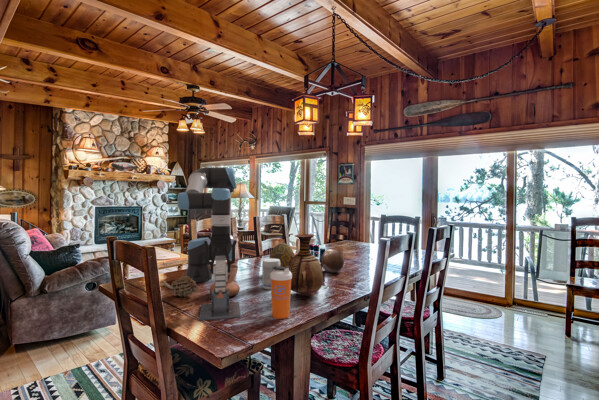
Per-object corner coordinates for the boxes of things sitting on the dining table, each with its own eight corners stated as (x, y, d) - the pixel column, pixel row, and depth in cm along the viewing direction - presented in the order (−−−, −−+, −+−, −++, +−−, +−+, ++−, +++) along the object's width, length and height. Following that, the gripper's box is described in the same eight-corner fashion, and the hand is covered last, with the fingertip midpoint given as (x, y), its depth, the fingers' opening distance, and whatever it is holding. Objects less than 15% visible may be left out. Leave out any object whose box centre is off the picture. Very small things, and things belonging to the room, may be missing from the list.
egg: (263, 275, 200) (263, 242, 199) (284, 271, 210) (284, 240, 210) (280, 280, 187) (280, 245, 187) (301, 276, 198) (301, 243, 198)
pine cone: (202, 295, 159) (202, 275, 159) (188, 301, 150) (188, 280, 150) (167, 290, 167) (167, 270, 167) (152, 295, 158) (152, 275, 158)
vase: (315, 305, 147) (316, 238, 146) (278, 300, 153) (279, 236, 153) (328, 291, 167) (328, 233, 166) (294, 287, 173) (295, 231, 173)
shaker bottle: (269, 311, 138) (270, 264, 138) (291, 311, 139) (291, 264, 139) (269, 320, 129) (270, 269, 129) (292, 319, 130) (292, 269, 130)
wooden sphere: (316, 272, 207) (316, 249, 206) (327, 268, 219) (328, 246, 219) (337, 276, 198) (337, 251, 198) (348, 271, 210) (348, 248, 210)
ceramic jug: (231, 301, 150) (231, 271, 150) (202, 298, 154) (203, 268, 154) (245, 291, 168) (246, 263, 168) (219, 288, 171) (220, 261, 171)
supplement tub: (283, 288, 172) (283, 260, 172) (267, 291, 167) (267, 262, 167) (274, 284, 181) (274, 257, 180) (259, 286, 175) (259, 259, 175)
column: (214, 302, 140) (214, 256, 139) (226, 301, 141) (226, 255, 140) (214, 306, 135) (214, 258, 134) (226, 305, 136) (226, 257, 136)
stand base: (201, 306, 144) (201, 285, 144) (238, 304, 147) (238, 283, 147) (199, 320, 128) (199, 297, 128) (240, 317, 132) (240, 294, 132)
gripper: (198, 226, 131) (198, 284, 132) (242, 225, 135) (241, 281, 136) (199, 224, 139) (199, 279, 139) (241, 223, 143) (240, 277, 143)
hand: (220, 280), depth 138 cm, fingers closed on column, 4 cm apart
